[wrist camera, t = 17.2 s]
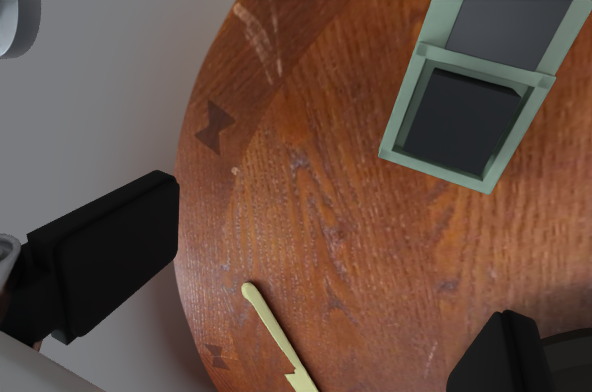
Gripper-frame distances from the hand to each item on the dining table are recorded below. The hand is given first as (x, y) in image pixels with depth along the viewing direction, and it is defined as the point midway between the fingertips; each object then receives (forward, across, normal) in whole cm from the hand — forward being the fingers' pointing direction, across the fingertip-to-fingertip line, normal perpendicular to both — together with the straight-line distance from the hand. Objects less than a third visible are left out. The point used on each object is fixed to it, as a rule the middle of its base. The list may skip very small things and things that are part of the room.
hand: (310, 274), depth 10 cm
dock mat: (+20, -4, -4) cm, 21 cm away
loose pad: (+19, -4, -2) cm, 19 cm away
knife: (+20, -1, +36) cm, 41 cm away
